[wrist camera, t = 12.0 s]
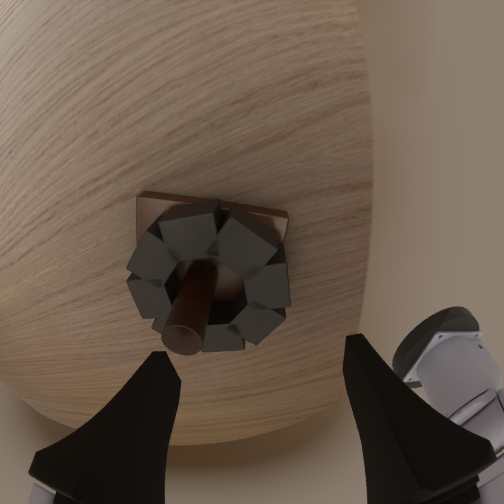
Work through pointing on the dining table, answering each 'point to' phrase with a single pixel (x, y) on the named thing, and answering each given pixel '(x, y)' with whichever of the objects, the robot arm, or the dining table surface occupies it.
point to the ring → (225, 252)
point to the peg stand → (198, 272)
